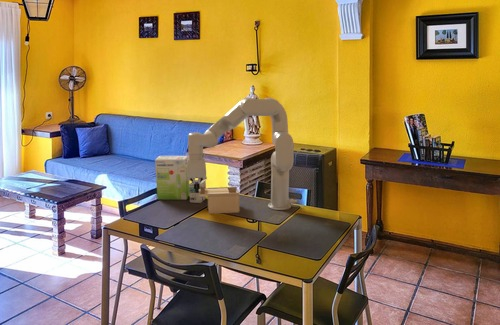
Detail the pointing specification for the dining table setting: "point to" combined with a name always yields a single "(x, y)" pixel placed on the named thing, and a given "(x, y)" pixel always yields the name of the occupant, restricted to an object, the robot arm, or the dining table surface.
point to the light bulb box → (196, 193)
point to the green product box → (172, 177)
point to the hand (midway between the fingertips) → (196, 190)
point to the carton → (224, 201)
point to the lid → (211, 190)
